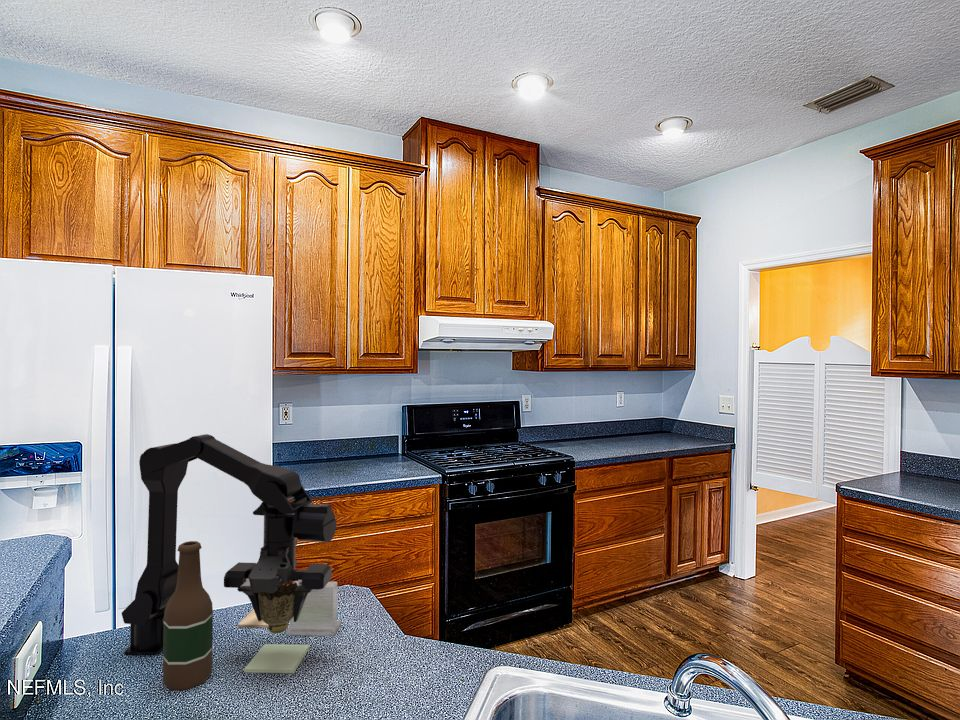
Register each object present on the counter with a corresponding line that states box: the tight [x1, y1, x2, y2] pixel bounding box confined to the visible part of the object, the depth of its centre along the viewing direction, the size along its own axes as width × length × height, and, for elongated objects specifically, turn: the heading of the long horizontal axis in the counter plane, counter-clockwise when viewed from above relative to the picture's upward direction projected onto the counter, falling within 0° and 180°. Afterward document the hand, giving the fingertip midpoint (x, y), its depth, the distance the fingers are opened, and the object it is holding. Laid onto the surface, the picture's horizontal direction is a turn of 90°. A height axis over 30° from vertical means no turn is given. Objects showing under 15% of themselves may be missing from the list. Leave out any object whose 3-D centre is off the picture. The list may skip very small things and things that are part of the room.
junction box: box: [285, 580, 342, 637], centre depth 116 cm, size 10×5×10 cm, turn 89°
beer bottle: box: [162, 540, 214, 691], centre depth 98 cm, size 8×8×24 cm
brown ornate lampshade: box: [258, 581, 298, 634], centre depth 104 cm, size 8×7×8 cm
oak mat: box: [237, 608, 268, 629], centre depth 121 cm, size 9×9×1 cm
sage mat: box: [243, 643, 311, 674], centre depth 104 cm, size 9×9×1 cm
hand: (278, 620), depth 104 cm, fingers closed on brown ornate lampshade, 6 cm apart
